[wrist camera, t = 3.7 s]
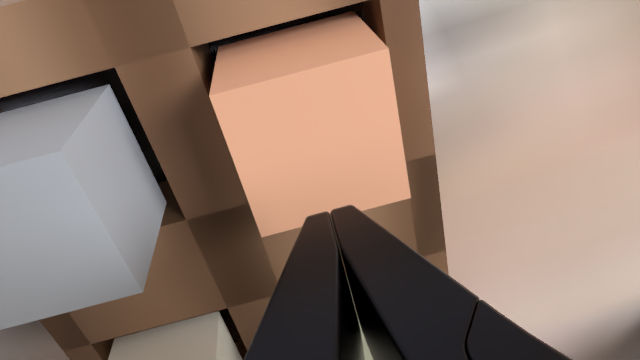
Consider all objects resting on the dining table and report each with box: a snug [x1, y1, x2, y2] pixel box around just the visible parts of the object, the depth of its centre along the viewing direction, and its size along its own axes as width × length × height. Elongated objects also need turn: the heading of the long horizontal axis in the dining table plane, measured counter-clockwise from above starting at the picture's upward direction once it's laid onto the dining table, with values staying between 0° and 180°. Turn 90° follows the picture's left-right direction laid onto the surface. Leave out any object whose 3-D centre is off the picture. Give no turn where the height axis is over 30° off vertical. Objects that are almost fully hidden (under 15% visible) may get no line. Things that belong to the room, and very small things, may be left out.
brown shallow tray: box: [0, 0, 448, 360], centre depth 17 cm, size 14×18×3 cm
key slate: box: [0, 84, 167, 330], centre depth 12 cm, size 4×4×4 cm
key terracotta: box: [209, 11, 411, 237], centre depth 13 cm, size 4×4×4 cm
